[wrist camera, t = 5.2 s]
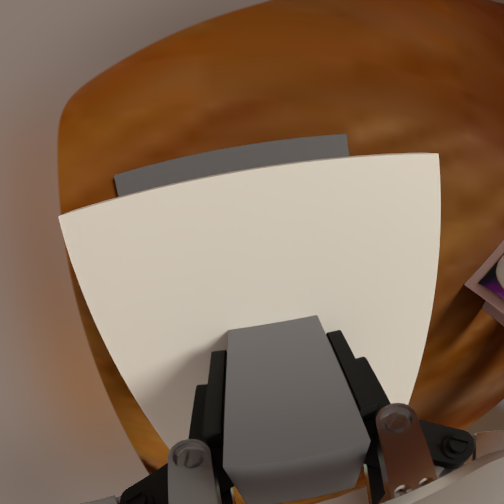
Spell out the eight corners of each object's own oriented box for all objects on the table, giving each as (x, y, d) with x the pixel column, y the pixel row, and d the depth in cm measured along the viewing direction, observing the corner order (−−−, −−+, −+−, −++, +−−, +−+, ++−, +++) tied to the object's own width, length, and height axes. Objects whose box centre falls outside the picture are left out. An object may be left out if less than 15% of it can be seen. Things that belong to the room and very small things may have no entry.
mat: (343, 134, 19) (346, 134, 18) (353, 329, 24) (355, 331, 24) (116, 174, 19) (113, 175, 18) (173, 360, 24) (172, 363, 24)
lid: (424, 152, 10) (563, 174, 3) (399, 401, 15) (441, 481, 8) (70, 211, 10) (-57, 277, 3) (173, 439, 15) (159, 529, 8)
